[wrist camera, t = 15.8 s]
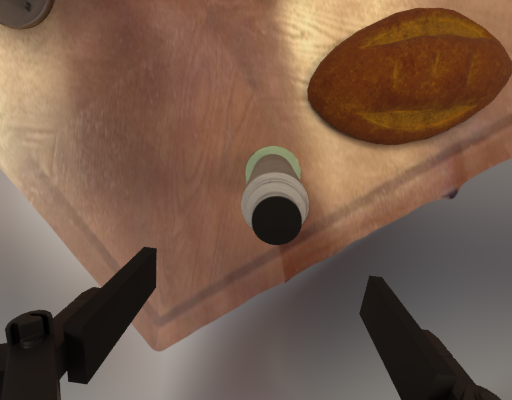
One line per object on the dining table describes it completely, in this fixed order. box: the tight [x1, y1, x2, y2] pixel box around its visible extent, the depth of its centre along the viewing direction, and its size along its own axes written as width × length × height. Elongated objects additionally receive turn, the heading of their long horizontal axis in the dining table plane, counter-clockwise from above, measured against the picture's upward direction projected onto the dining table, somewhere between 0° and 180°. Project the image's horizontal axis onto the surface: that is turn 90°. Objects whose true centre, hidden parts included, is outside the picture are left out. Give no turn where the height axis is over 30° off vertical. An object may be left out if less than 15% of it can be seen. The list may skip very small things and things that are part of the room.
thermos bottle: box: [241, 154, 309, 245], centre depth 39 cm, size 8×8×28 cm
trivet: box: [245, 146, 301, 183], centre depth 52 cm, size 11×11×1 cm
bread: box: [307, 8, 512, 145], centre depth 42 cm, size 21×33×12 cm, turn 92°
